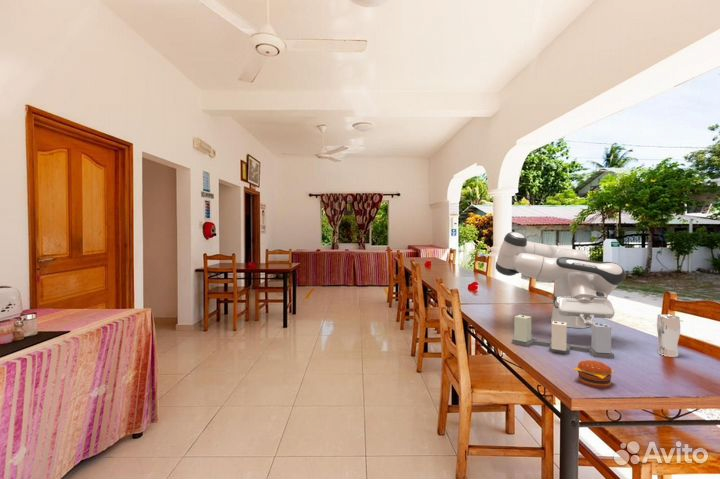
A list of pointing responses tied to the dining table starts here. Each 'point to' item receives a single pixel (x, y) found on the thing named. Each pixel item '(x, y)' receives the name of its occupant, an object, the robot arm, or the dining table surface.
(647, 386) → the dining table surface
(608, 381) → the hamburger
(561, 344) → the key two dots
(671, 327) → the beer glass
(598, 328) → the key three dots
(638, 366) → the dining table surface
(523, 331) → the key one dot
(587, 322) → the robot arm
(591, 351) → the grey flat piece
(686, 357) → the dining table surface
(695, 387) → the dining table surface
